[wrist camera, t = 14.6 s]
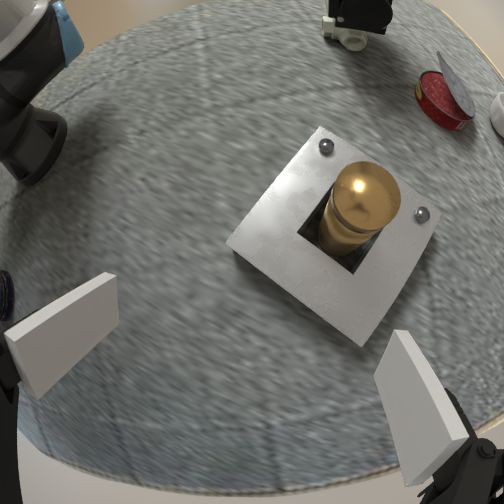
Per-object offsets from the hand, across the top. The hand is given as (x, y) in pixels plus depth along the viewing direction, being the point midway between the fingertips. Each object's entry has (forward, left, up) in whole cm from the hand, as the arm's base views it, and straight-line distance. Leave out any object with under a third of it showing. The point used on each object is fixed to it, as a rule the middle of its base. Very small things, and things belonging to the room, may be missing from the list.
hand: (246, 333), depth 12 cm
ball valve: (-15, +42, -16) cm, 47 cm away
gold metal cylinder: (+1, +11, -16) cm, 19 cm away
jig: (+1, +11, -16) cm, 20 cm away
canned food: (+4, +39, -17) cm, 42 cm away
